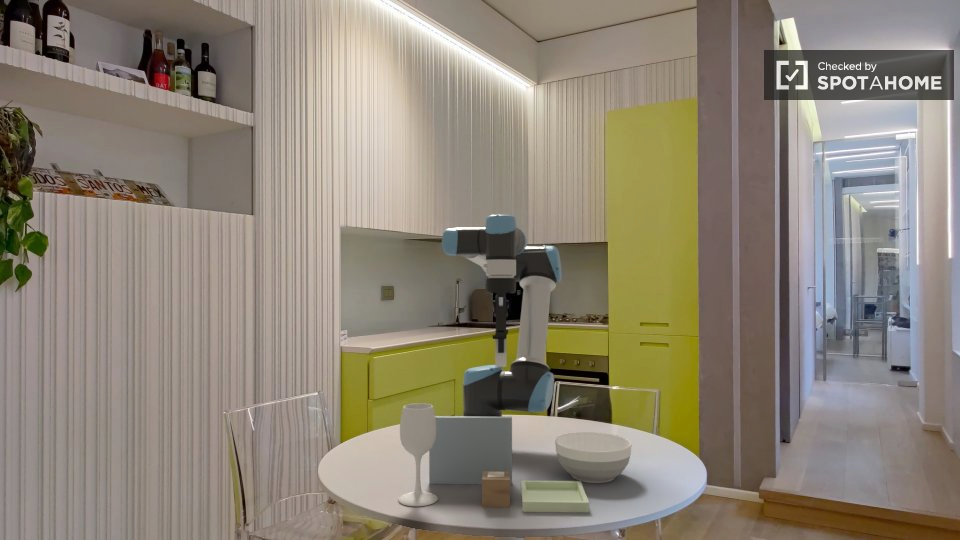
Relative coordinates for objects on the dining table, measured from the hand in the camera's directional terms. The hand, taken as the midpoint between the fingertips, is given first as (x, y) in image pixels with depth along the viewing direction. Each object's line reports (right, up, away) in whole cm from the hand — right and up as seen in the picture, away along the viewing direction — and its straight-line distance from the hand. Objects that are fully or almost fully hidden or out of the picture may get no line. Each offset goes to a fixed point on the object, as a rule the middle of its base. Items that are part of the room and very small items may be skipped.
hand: (500, 362), depth 155 cm
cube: (-2, -29, -16) cm, 33 cm away
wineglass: (-19, -29, -15) cm, 38 cm away
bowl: (+23, -29, +2) cm, 37 cm away
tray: (+11, -28, -15) cm, 34 cm away
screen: (-7, -29, -4) cm, 30 cm away
